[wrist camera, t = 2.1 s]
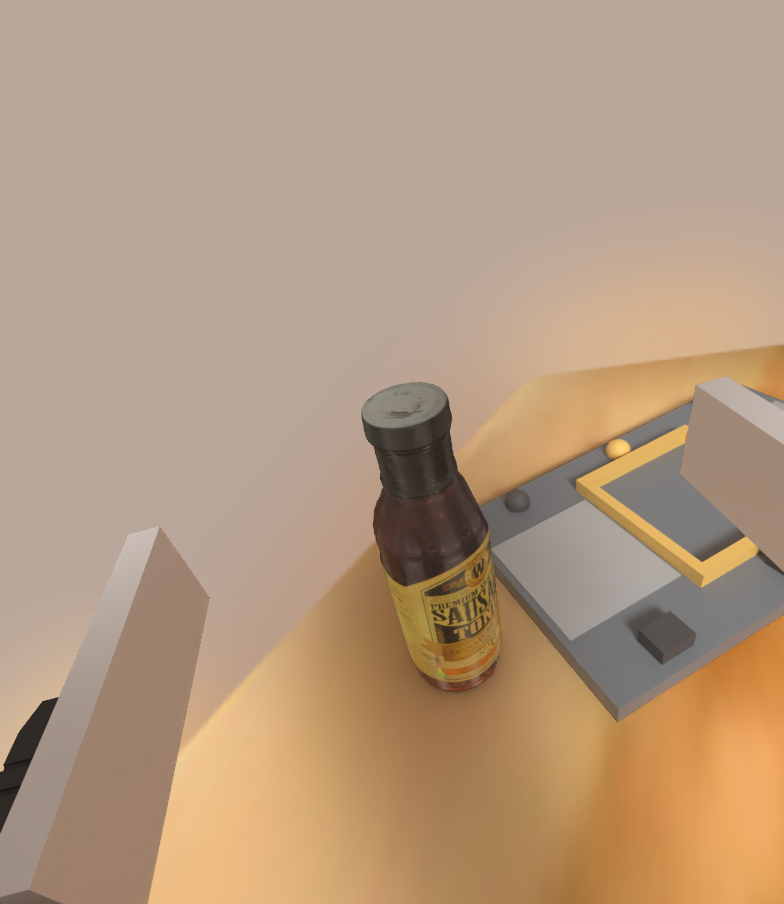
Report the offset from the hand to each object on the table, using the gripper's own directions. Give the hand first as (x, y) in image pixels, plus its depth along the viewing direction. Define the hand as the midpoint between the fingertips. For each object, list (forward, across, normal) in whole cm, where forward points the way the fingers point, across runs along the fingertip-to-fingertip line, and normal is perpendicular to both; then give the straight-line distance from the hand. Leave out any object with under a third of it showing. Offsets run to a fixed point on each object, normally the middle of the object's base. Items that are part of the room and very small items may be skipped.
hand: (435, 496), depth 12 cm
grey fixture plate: (+16, +20, -22) cm, 34 cm away
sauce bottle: (+10, 0, -23) cm, 25 cm away
